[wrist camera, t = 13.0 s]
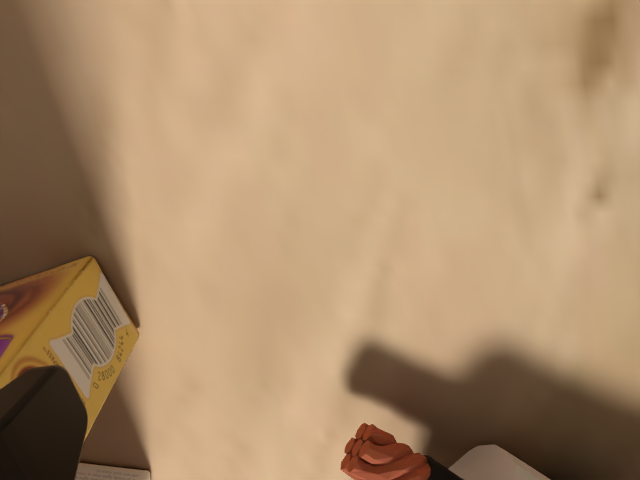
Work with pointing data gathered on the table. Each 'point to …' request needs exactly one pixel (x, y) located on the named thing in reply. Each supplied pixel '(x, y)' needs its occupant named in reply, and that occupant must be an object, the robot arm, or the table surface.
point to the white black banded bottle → (426, 461)
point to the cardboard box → (109, 473)
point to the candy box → (66, 329)
